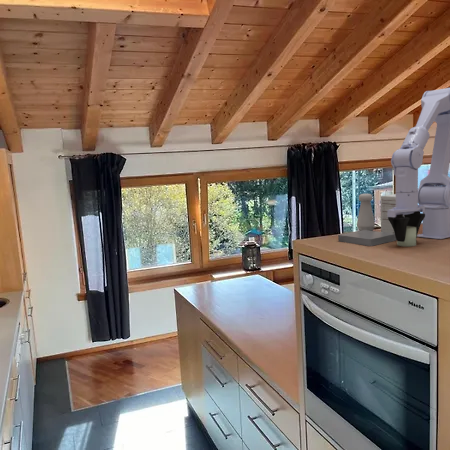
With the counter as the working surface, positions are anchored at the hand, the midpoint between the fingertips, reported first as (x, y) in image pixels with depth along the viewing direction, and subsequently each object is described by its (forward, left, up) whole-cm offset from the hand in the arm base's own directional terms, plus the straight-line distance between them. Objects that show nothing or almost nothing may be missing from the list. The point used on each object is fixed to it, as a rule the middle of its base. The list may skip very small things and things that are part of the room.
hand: (406, 239), depth 122 cm
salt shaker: (-11, -23, -2) cm, 26 cm away
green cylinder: (0, 0, -1) cm, 1 cm away
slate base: (+2, -12, -1) cm, 12 cm away
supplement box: (-14, -13, -2) cm, 19 cm away
